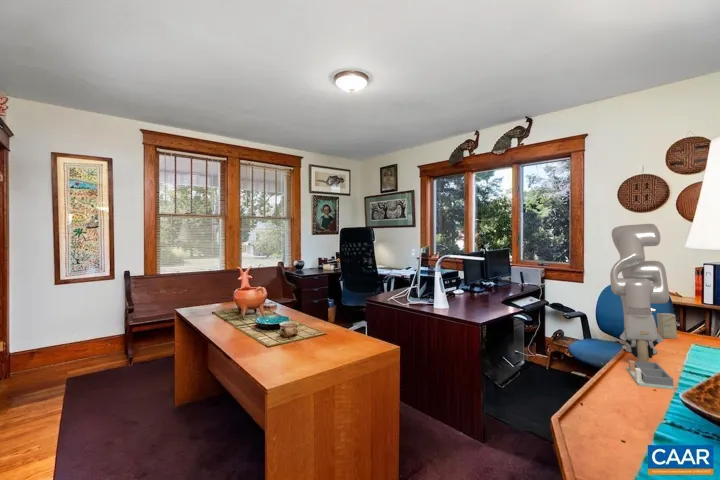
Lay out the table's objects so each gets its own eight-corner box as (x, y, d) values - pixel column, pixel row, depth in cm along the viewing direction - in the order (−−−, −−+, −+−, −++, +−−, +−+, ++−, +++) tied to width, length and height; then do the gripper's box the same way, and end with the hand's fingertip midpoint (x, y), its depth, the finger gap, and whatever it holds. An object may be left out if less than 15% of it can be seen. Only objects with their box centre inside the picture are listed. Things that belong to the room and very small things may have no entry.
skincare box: (663, 338, 175) (661, 314, 176) (657, 336, 180) (655, 313, 180) (677, 338, 174) (675, 314, 175) (671, 336, 179) (669, 312, 179)
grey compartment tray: (626, 369, 137) (625, 357, 138) (657, 371, 133) (656, 360, 133) (638, 385, 121) (637, 372, 122) (674, 389, 117) (672, 376, 117)
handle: (634, 363, 143) (631, 327, 143) (654, 367, 138) (651, 329, 138) (632, 366, 139) (629, 329, 140) (652, 370, 135) (649, 331, 135)
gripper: (662, 310, 139) (666, 355, 138) (611, 309, 147) (615, 352, 146) (668, 313, 132) (672, 361, 132) (615, 312, 140) (619, 357, 139)
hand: (642, 356), depth 139 cm, fingers closed on handle, 4 cm apart
